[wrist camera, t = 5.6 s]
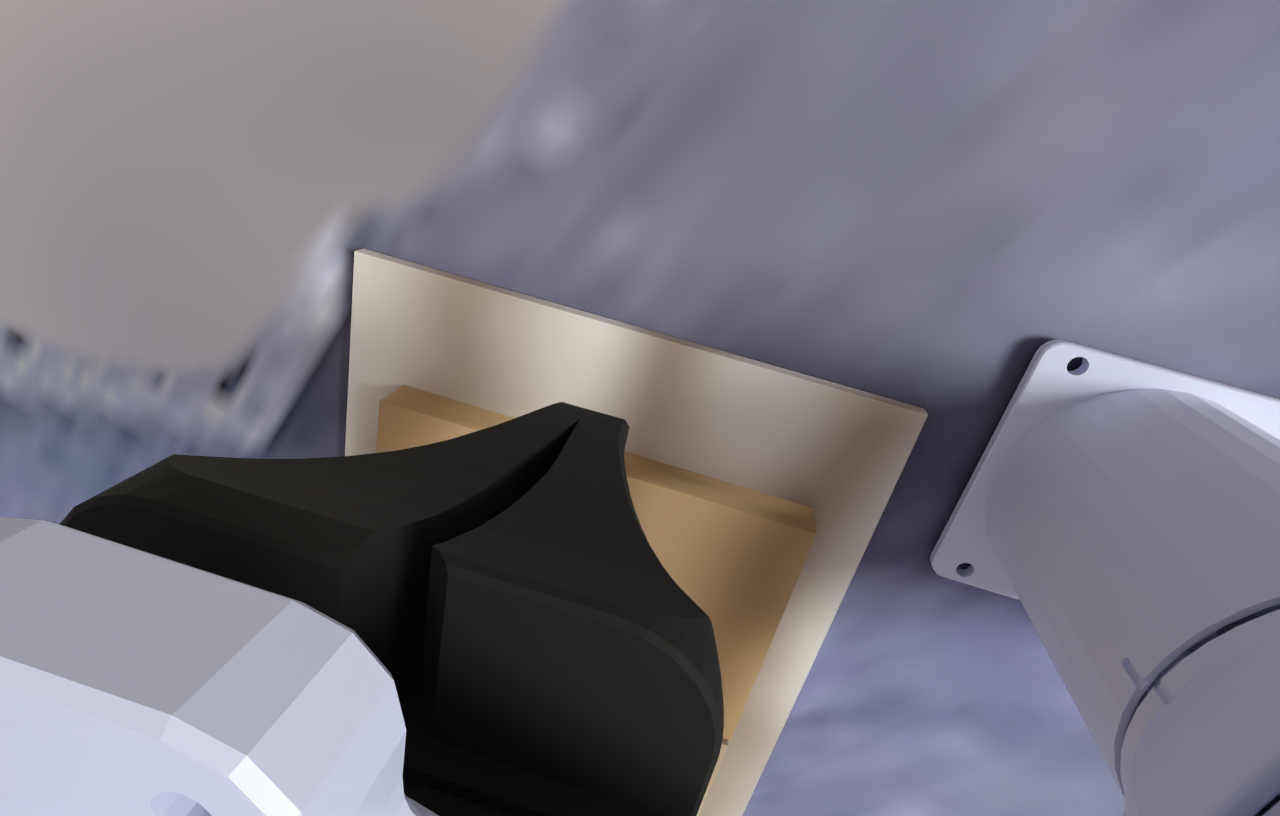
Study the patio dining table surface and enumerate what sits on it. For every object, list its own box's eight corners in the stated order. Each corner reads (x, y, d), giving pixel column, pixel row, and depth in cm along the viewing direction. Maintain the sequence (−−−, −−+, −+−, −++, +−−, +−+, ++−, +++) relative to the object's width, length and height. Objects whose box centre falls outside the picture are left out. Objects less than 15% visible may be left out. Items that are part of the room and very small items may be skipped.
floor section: (924, 408, 19) (940, 437, 17) (730, 831, 28) (727, 880, 26) (363, 248, 21) (323, 259, 19) (339, 696, 29) (310, 734, 27)
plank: (813, 508, 21) (816, 534, 19) (732, 706, 24) (730, 740, 23) (404, 384, 22) (379, 400, 20) (385, 592, 25) (363, 617, 24)
